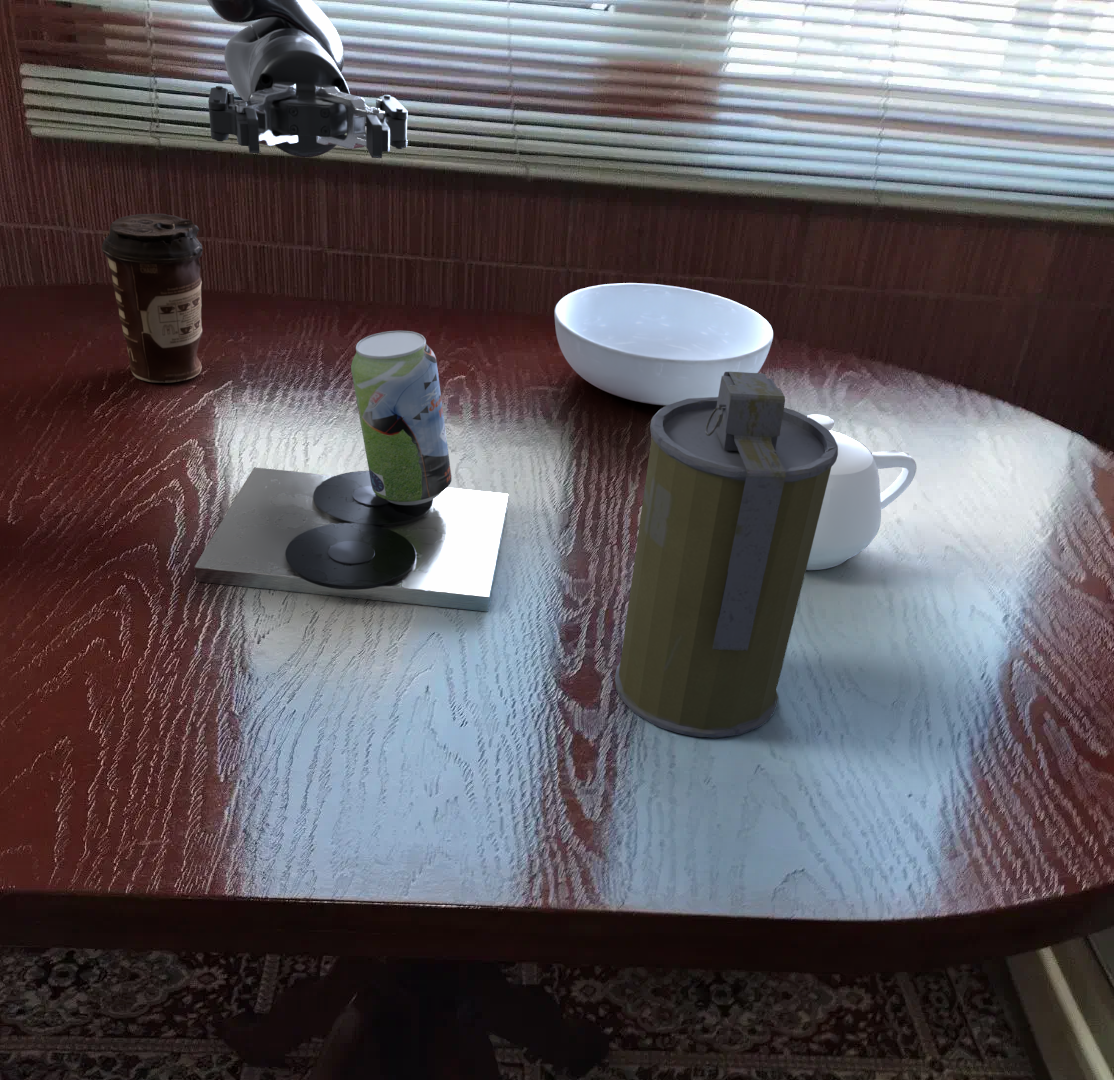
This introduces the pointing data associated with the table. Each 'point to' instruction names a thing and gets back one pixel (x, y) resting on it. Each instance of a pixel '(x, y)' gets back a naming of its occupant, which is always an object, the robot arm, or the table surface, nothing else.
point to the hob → (357, 541)
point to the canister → (721, 557)
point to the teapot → (854, 499)
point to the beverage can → (401, 417)
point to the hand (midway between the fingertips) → (316, 140)
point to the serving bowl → (658, 340)
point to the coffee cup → (158, 293)
